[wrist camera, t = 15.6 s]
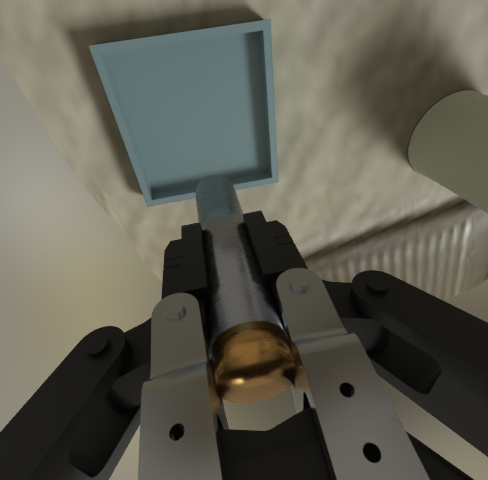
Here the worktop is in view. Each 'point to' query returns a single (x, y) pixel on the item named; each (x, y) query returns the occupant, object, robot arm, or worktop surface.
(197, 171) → the tray
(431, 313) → the robot arm
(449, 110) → the can
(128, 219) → the worktop surface
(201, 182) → the orange-topped grey cylinder
